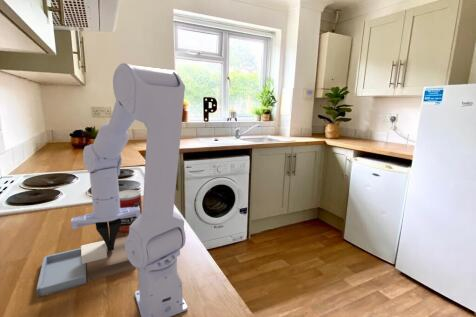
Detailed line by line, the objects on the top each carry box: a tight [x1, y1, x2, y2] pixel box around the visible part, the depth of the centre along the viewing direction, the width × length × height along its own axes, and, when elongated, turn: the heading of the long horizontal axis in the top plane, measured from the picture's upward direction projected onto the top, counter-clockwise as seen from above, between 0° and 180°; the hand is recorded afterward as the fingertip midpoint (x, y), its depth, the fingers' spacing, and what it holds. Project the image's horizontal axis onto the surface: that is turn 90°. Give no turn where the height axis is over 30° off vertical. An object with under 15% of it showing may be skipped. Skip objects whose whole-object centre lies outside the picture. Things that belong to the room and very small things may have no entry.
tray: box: [36, 247, 88, 298], centre depth 58 cm, size 13×8×2 cm, turn 31°
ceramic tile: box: [80, 240, 107, 264], centre depth 61 cm, size 5×5×2 cm
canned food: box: [118, 189, 143, 233], centre depth 80 cm, size 8×8×11 cm
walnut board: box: [86, 235, 136, 282], centre depth 63 cm, size 12×10×2 cm
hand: (110, 248), depth 63 cm, fingers closed
